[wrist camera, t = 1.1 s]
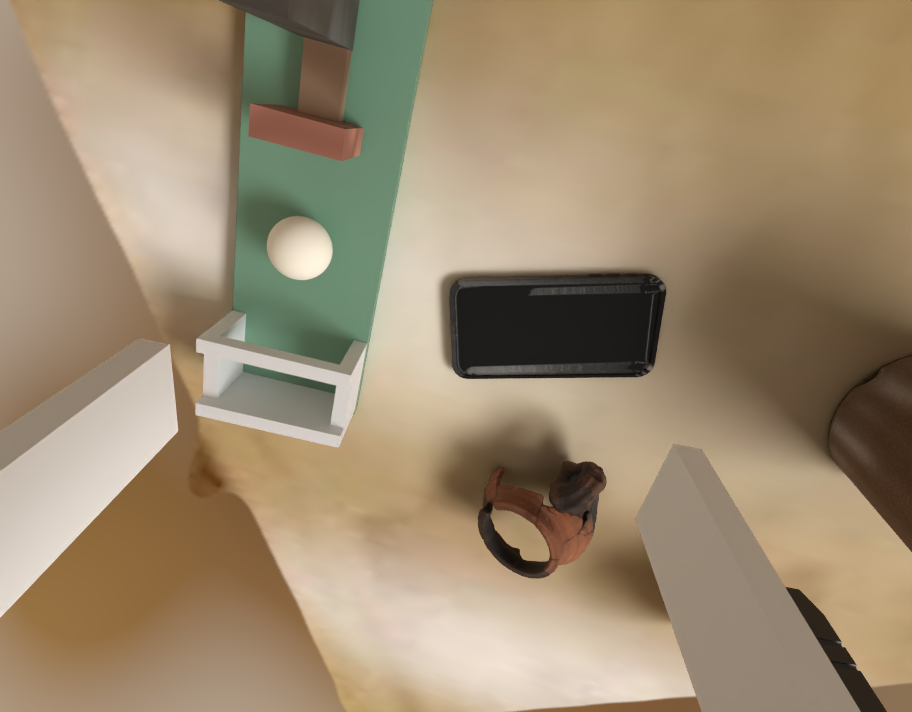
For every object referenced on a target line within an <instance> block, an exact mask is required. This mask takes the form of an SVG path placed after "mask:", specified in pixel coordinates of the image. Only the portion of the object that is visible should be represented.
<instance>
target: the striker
mask: <svg viewBox="0 0 912 712" xmlns="http://www.w3.org/2000/svg"><path fill="white" fill-rule="evenodd" d="M220 1H222V2H224V3H227V4H229V5H231V6H233V7H236V8H238V9H240V10H242V11H245V12H247V13H249V14H251V15H254V16H256V17H258V18H260V19H263V20H265V21H267V22H269V23H272V24H274V25H276V26H278V27H281V28H283V29H285V30H288V31H290V32H292V33H294V34H297V35H299V36H302V37H304V46H303V57H302V68H301V79H300V90H299V101H298V109H294V108H291V107H287V106H283V105H273V104H255V103H250V114H249V134H248V136H249V137H253V138H257V139H260V140H264V141H268V142H272V143H275V144H279V145H283V146H286V147H290V148H294V149H298V150H301V151H305V152H309V153H312V154H316V155H320V156H323V157H327V158H331V159H335V160H338V161H344V160H347V159H350V158H353V157H357V156H360V151H361V145H362V138H363V131H364V128H363V127H360V126H356V125H353V124H349V123H345V122H343V116H344V109H345V101H346V93H347V86H348V78H349V70H350V63H351V55H352V51H353V47H354V39H355V31H356V24H357V16H358V8H359V1H360V0H220Z"/></svg>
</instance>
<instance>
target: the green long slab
mask: <svg viewBox="0 0 912 712" xmlns="http://www.w3.org/2000/svg"><path fill="white" fill-rule="evenodd" d="M432 4H433V0H360V1H359V8H358V16H357V24H356V31H355V39H354V47H353V51H352V55H351V63H350V70H349V78H348V86H347V93H346V101H345V109H344V116H343V122H345V123H349V124H353V125H356V126H360V127H363V128H364V131H363V138H362V145H361V151H360V156H357V157H353V158H350V159H347V160H344V161H338V160H335V159H331V158H327V157H323V156H320V155H316V154H312V153H309V152H305V151H301V150H298V149H294V148H290V147H286V146H283V145H279V144H275V143H272V142H268V141H264V140H260V139H257V138H253V137H249V136H248V134H249V114H250V103H255V104H273V105H283V106H287V107H291V108H294V109H298V101H299V90H300V79H301V68H302V57H303V46H304V37H302V36H299V35H297V34H294V33H292V32H290V31H288V30H285V29H283V28H281V27H278V26H276V25H274V24H272V23H269V22H267V21H265V20H263V19H260V18H258V17H256V16H254V15H251V14H249V13H247V12H246V16H245V39H244V61H243V84H242V107H241V129H240V152H239V175H238V197H237V220H236V243H235V265H234V288H233V310H232V311H231V312H230V313H228V314H227V315H226V316H224V317H223V318H222V319H221V320H219V321H218V322H217V323H215V324H214V325H213V326H212V327H210V328H209V329H208V330H206V331H205V332H204V333H203V334H201V335H200V336H199V337H197V338H196V352H198V353H202V354H204V384H203V396H202V397H201V398H200V399H199V400H198V401H197V402H196V415H198V416H202V417H207V418H211V419H215V420H220V421H224V422H229V423H233V424H237V425H242V426H246V427H250V428H255V429H259V430H263V431H268V432H272V433H276V434H281V435H285V436H290V437H294V438H298V439H303V440H307V441H311V442H316V443H320V444H324V445H329V446H333V447H337V448H338V447H339V445H340V443H341V440H342V438H343V436H344V433H345V431H346V429H347V427H348V424H349V422H350V420H351V417H352V415H353V414H354V413H355V411H356V409H357V405H358V399H359V394H360V389H361V383H362V378H363V373H364V367H365V362H366V357H367V351H368V346H369V341H370V335H371V330H372V325H373V319H374V314H375V308H376V303H377V298H378V292H379V287H380V282H381V276H382V271H383V266H384V260H385V255H386V250H387V244H388V239H389V234H390V228H391V223H392V218H393V212H394V207H395V202H396V196H397V191H398V186H399V180H400V175H401V170H402V164H403V159H404V154H405V148H406V143H407V138H408V132H409V127H410V122H411V116H412V111H413V105H414V100H415V95H416V89H417V84H418V79H419V73H420V68H421V63H422V57H423V52H424V47H425V41H426V36H427V31H428V25H429V20H430V15H431V9H432ZM292 216H304V217H308V218H311V219H313V220H315V221H316V222H318V223H319V224H320V225H322V226H323V227H324V229H325V230H326V231H327V233H328V234H329V236H330V239H331V242H332V248H333V253H332V258H331V261H330V264H329V265H328V267H327V268H326V270H325V271H324V272H323V273H321V274H320V275H319V276H317V277H315V278H312V279H308V280H296V279H292V278H289V277H287V276H285V275H283V274H282V273H280V272H279V271H278V270H277V269H276V268H275V267H274V266H273V264H272V263H271V261H270V259H269V256H268V252H267V240H268V236H269V233H270V231H271V230H272V228H273V227H274V226H275V225H276V224H277V223H278V222H279V221H281V220H283V219H285V218H288V217H292Z"/></svg>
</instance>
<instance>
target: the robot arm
mask: <svg viewBox="0 0 912 712" xmlns="http://www.w3.org/2000/svg"><path fill="white" fill-rule="evenodd" d="M177 425H178V424H177V415H176V404H175V395H174V384H173V374H172V364H171V354H170V344H166V343H161V342H156V341H151V340H146V339H141V338H139V339H137V340H136V341H134V342H133V343H131V344H130V345H128V346H127V347H125V348H124V349H122V350H121V351H119V352H118V353H116V354H115V355H113V356H112V357H111V358H109V359H107V360H106V361H104V362H103V363H101V364H100V365H98V366H97V367H95V368H94V369H92V370H91V371H89V372H88V373H86V374H85V375H83V376H82V377H80V378H79V379H77V380H76V381H74V382H73V383H71V384H70V385H68V386H67V387H65V388H64V389H62V390H61V391H60V392H58V393H57V394H55V395H53V396H52V397H50V398H49V399H47V400H46V401H44V402H43V403H42V404H40V405H38V406H37V407H36V408H34V409H32V410H31V411H29V412H28V413H26V414H25V415H23V416H22V417H21V418H19V419H18V420H16V421H14V422H13V423H11V424H10V425H8V426H7V427H6V428H4V429H2V430H1V431H0V617H1V616H2V615H3V614H4V613H5V612H6V611H7V610H8V609H9V608H10V607H11V606H12V605H13V604H14V603H15V601H16V600H17V599H18V598H19V597H20V596H21V595H22V594H23V593H24V592H25V591H26V590H27V589H28V588H29V587H30V586H31V585H32V584H33V583H34V582H35V580H37V578H38V577H39V576H40V575H41V574H42V573H43V572H44V571H45V570H46V569H47V568H48V567H49V566H50V565H51V564H52V563H53V562H54V561H55V560H56V558H58V556H59V555H60V554H61V553H62V552H63V551H64V550H65V549H66V548H67V547H68V546H69V545H70V544H71V543H72V542H73V541H74V540H75V539H76V538H77V537H78V535H79V534H80V533H81V532H82V531H83V530H84V529H85V528H86V527H87V526H88V525H89V524H90V523H91V522H92V521H93V520H94V519H95V518H96V517H97V516H98V515H99V514H100V512H101V511H102V510H103V509H104V508H105V507H106V506H107V505H108V504H109V503H110V502H111V501H112V500H113V499H114V498H115V497H116V496H117V495H118V494H119V493H120V491H121V490H122V489H123V488H124V487H125V486H126V485H127V484H128V483H129V482H130V481H131V480H132V479H133V478H134V477H135V476H136V474H138V473H139V472H140V471H141V469H142V468H143V467H144V466H145V465H146V464H147V463H148V462H149V461H150V460H151V459H152V458H153V457H154V456H155V455H156V454H157V453H158V452H159V451H160V449H162V447H163V446H164V445H165V444H166V443H167V442H168V441H169V440H170V439H171V438H172V437H173V436H174V435H175V434H176V433H177V432H178V426H177ZM635 520H636V523H637V526H638V529H639V531H640V534H641V537H642V540H643V543H644V546H645V549H646V552H647V555H648V558H649V560H650V563H651V566H652V569H653V572H654V575H655V578H656V581H657V584H658V587H659V589H660V592H661V595H662V598H663V601H664V604H665V607H666V610H667V613H668V616H669V618H670V621H671V624H672V627H673V630H674V633H675V636H676V639H677V642H678V644H679V647H680V650H681V653H682V656H683V659H684V662H685V665H686V668H687V671H688V673H689V676H690V679H691V682H692V685H693V688H694V691H695V694H696V697H697V699H698V702H699V705H700V708H701V711H702V712H887V711H886V710H885V708H884V707H883V705H882V704H881V702H880V700H879V699H878V697H877V696H876V694H875V693H874V691H873V690H872V688H871V687H870V685H869V684H868V682H867V680H866V679H865V677H864V676H863V674H862V673H861V671H858V670H857V669H856V663H855V662H854V660H853V659H852V657H851V656H850V654H849V653H848V651H847V650H846V648H844V647H842V646H841V643H842V642H841V640H840V639H839V637H838V636H837V634H836V633H835V631H834V630H833V628H832V627H831V625H830V623H829V622H828V620H827V619H826V617H825V616H824V614H823V613H822V612H821V611H820V610H819V609H818V608H817V607H816V606H815V605H814V604H813V603H812V602H811V601H810V600H809V599H808V598H807V597H806V596H805V595H804V594H803V593H802V592H801V591H800V590H799V589H793V588H788V587H785V586H784V584H783V583H782V581H781V579H780V578H779V576H778V574H777V573H776V571H775V569H774V568H773V566H772V564H771V563H770V561H769V560H768V558H767V556H766V555H765V553H764V551H763V550H762V548H761V546H760V545H759V543H758V541H757V540H756V538H755V536H754V535H753V533H752V531H751V530H750V528H749V527H748V525H747V523H746V522H745V520H744V518H743V517H742V515H741V513H740V512H739V510H738V508H737V507H736V505H735V503H734V502H733V500H732V498H731V497H730V495H729V494H728V492H727V490H726V489H725V487H724V485H723V484H722V482H721V480H720V479H719V477H718V475H717V474H716V472H715V470H714V469H713V467H712V466H711V464H710V462H709V461H708V459H707V457H706V456H705V454H704V452H703V451H702V449H697V448H692V447H687V446H682V445H677V444H673V446H672V448H671V450H670V452H669V453H668V455H667V457H666V459H665V461H664V463H663V465H662V467H661V469H660V471H659V473H658V475H657V477H656V479H655V481H654V483H653V485H652V487H651V489H650V491H649V493H648V495H647V497H646V499H645V501H644V503H643V505H642V506H641V508H640V510H639V512H638V514H637V516H636V518H635Z"/></svg>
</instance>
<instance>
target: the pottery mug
mask: <svg viewBox="0 0 912 712" xmlns="http://www.w3.org/2000/svg"><path fill="white" fill-rule="evenodd" d="M503 473H504V468H503V467H500V468H498V469H497V470H496V471H495V472H494V473H493V475H492V477H491V478H490V479H489V483H488V484H487V487H486V488H485V490H484V497H483V508H482V509H481V510H480V512H479V516H478V528H479V532H480V535H481V537H482V539H483V540H484V543H485V545H486V546H487V548H488V549H489V551H490V552H491V553H492V555H493V556H494V557H495V558H496V559H497V560H498V561H499V562H500V563H501V564H502V565H504V566H505V567H507V568H508V569H509V570H512V571H513V572H515V573H517V574H519V575H521V576H525V577H528V578H544V577H547V576H549V575H550V574H551V573H553V572H554V571H555V570H556V568H557V567H558V565H563V564H564V565H565V564H568V563H570V562H572V561H574V560H576V559H577V558H578V557H579V556H580V555H581V554H582V553H583V552H584V551H585V549H586V547H587V546H588V545H589V543H590V541H591V539H592V536H593V533H594V528H595V522H596V515H597V505H598V501H599V493H600V492H601V491H603V490H604V488H605V486H606V476H605V475H604V472H603V469H602V468H601V467H599V466H597V465H596V464H595V463H593V462H582V463H579V464H576V463H573V462H570V461H564V462H563V465H562V468H561V471H560V474H558V475H557V476H556V478H555V480H553V482H552V483H551V485H550V492H549V500H550V502H551V504H552V505H553V507H549V506H546V505H543V499H544V496H543V495H541V494H538V493H534V492H531V491H528V490H525V489H520V488H514V487H511V486H500V479H501V477H502V474H503ZM493 505H494V507H495V509H496V510H507V511H512V512H514V513H517V514H519V515H521V516H522V517H524V518H525V519H527V520H528V521H530V522H531V523H533V524H534V525H535V526H536V527H537V529H538V530H539V531H540V532H541V534H542V535H543V537H544V538H545V540H546V542H547V545H548V547H549V551H550V558H549V561H546V562H536V561H526V560H523V559H522V557H521V555H520V549H518V548H513V547H511V546H510V545H508V544H507V543H506V542H505V541H504V540H503V538H502V537H501V536H500V534H499V533H498V532H497V531H496V530H495V528H494V525H493V522H492V520H491V517H490V515H491V512H492V509H493Z"/></svg>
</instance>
